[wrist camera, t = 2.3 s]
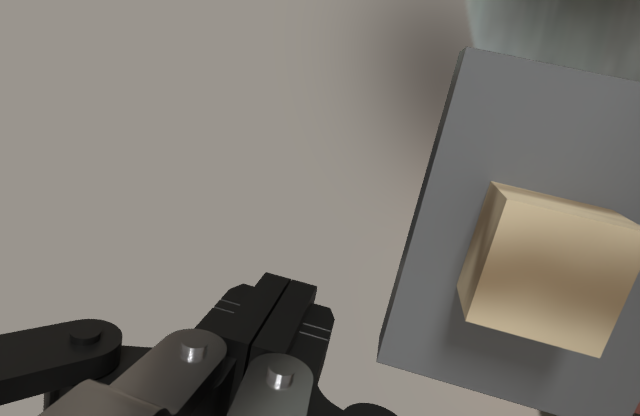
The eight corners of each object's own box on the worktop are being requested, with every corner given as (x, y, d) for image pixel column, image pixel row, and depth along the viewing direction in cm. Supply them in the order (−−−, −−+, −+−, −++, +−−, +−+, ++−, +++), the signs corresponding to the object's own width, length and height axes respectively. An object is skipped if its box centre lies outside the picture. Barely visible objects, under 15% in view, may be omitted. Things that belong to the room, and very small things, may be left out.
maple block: (490, 180, 23) (506, 198, 19) (613, 210, 22) (655, 234, 18) (456, 285, 25) (465, 321, 21) (569, 315, 24) (599, 358, 20)
